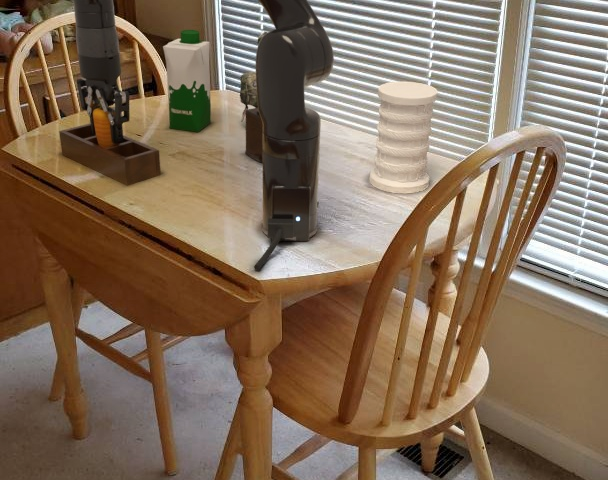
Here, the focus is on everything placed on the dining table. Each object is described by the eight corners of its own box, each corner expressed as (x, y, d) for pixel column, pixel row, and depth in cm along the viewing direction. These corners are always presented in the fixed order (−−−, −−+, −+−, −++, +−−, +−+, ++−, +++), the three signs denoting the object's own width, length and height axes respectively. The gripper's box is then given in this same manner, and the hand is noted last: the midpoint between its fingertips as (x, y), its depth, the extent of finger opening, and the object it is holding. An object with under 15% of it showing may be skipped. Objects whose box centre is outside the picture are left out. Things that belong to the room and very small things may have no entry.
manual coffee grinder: (241, 154, 168) (240, 66, 158) (283, 144, 174) (285, 59, 164) (286, 177, 158) (288, 85, 148) (330, 166, 164) (334, 76, 154)
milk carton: (215, 122, 185) (213, 31, 174) (200, 134, 178) (196, 40, 167) (180, 117, 187) (175, 27, 176) (163, 129, 180) (157, 36, 169)
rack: (127, 185, 152) (124, 160, 150) (62, 154, 165) (58, 131, 162) (160, 174, 157) (159, 150, 155) (95, 145, 170) (92, 122, 167)
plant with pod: (231, 123, 185) (229, 32, 174) (275, 117, 189) (276, 28, 179) (246, 134, 179) (245, 40, 168) (291, 127, 183) (293, 36, 173)
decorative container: (438, 179, 159) (449, 87, 150) (414, 198, 151) (424, 102, 141) (385, 166, 164) (392, 77, 155) (359, 184, 156) (365, 91, 146)
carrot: (116, 158, 164) (108, 84, 156) (127, 165, 161) (120, 90, 153) (93, 163, 161) (84, 88, 153) (105, 171, 158) (96, 94, 150)
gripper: (59, 46, 151) (70, 133, 160) (104, 61, 143) (113, 152, 152) (93, 40, 156) (102, 125, 165) (138, 54, 147) (145, 143, 156)
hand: (107, 137), depth 158 cm, fingers open, 6 cm apart
